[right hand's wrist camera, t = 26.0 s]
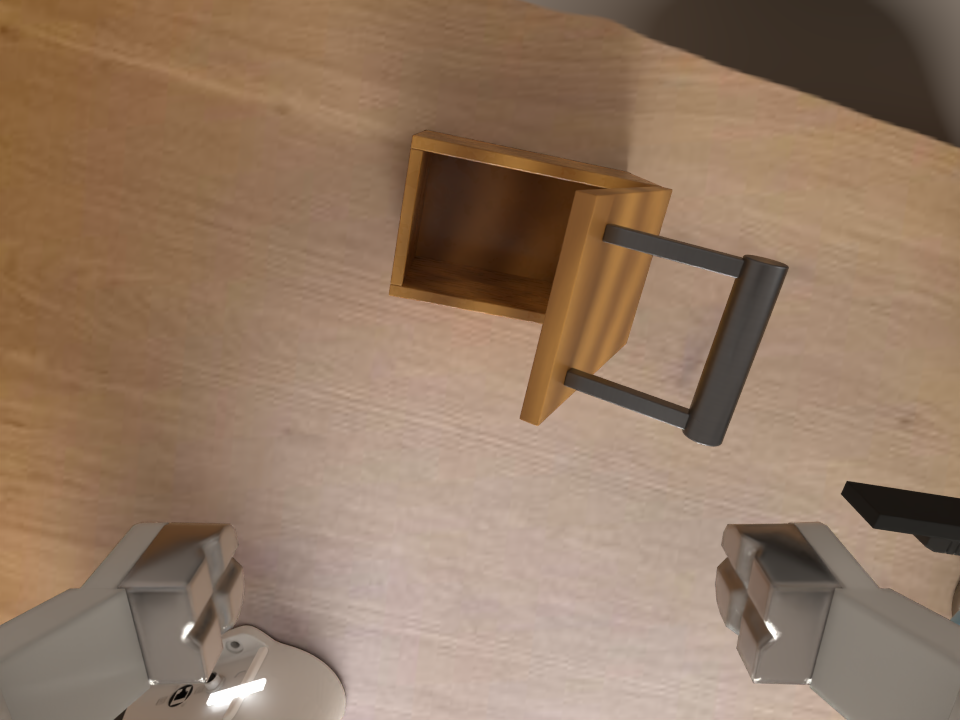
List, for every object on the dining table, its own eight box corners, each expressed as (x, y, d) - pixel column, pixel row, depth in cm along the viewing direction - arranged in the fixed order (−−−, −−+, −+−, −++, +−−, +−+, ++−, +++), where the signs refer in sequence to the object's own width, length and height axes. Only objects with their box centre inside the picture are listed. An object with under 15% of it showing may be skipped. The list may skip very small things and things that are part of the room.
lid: (519, 419, 26) (704, 493, 24) (575, 190, 23) (799, 245, 20) (613, 339, 39) (739, 381, 37) (657, 186, 36) (800, 219, 33)
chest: (405, 261, 48) (388, 295, 39) (425, 129, 44) (412, 134, 35) (593, 297, 49) (618, 339, 40) (627, 171, 45) (663, 186, 36)
